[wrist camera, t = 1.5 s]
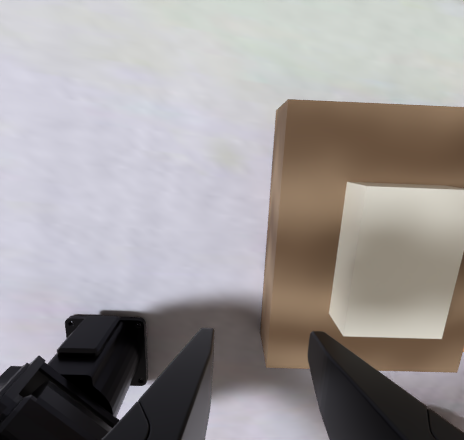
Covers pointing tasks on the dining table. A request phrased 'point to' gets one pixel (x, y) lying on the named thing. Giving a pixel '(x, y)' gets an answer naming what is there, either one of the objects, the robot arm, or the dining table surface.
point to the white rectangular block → (397, 259)
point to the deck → (330, 217)
